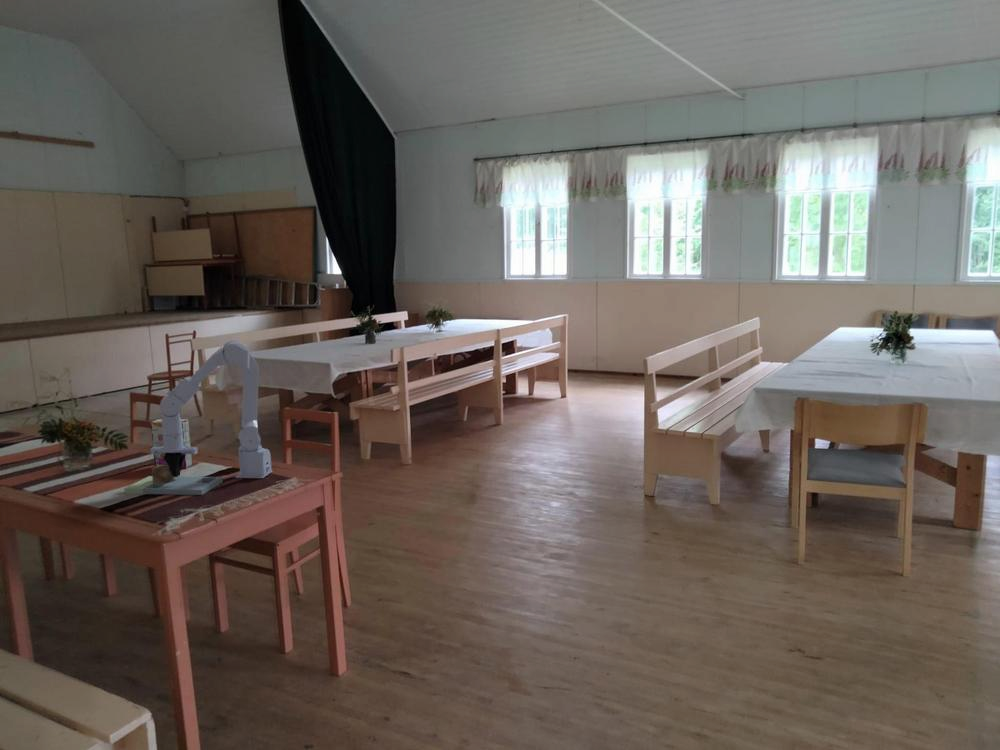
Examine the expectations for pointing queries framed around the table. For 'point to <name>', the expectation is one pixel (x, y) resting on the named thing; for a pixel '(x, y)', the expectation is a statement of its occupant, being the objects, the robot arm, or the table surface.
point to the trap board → (175, 486)
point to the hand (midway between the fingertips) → (176, 476)
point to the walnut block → (162, 474)
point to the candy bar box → (158, 442)
